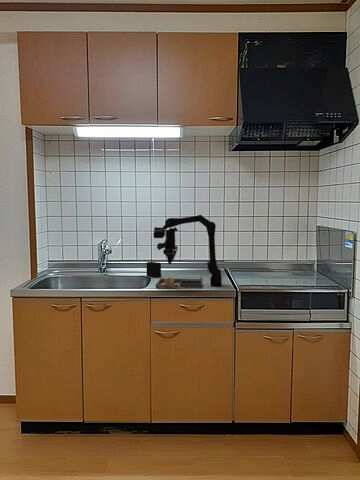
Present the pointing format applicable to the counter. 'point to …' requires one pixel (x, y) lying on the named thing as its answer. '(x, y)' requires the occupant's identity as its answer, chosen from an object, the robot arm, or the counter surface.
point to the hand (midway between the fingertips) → (170, 263)
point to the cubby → (166, 284)
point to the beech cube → (169, 280)
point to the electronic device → (153, 269)
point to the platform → (189, 277)
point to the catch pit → (191, 284)
